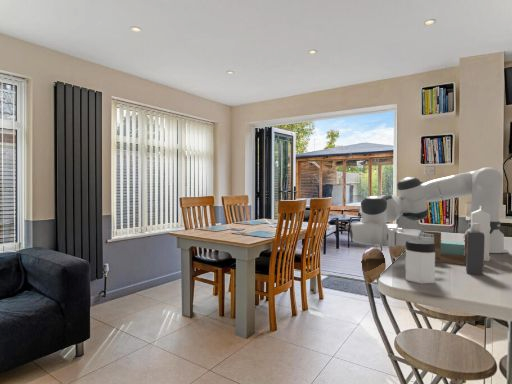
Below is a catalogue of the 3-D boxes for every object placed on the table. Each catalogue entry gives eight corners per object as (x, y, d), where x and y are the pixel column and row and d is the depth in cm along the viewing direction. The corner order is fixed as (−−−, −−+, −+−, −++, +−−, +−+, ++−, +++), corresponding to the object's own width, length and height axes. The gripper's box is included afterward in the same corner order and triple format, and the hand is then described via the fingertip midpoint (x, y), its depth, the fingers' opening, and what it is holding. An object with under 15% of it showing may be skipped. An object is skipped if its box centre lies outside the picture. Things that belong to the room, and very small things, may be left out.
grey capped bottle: (466, 270, 113) (467, 222, 113) (481, 272, 111) (482, 223, 111) (467, 273, 109) (468, 223, 109) (482, 275, 107) (484, 224, 107)
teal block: (440, 256, 136) (440, 240, 136) (462, 259, 132) (462, 242, 132) (440, 260, 129) (440, 242, 129) (463, 262, 125) (464, 245, 125)
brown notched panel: (423, 258, 131) (424, 230, 131) (482, 265, 121) (483, 235, 121) (423, 259, 129) (423, 231, 129) (483, 266, 119) (484, 235, 119)
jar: (403, 274, 106) (404, 238, 106) (431, 277, 103) (432, 240, 103) (405, 282, 98) (406, 242, 98) (435, 285, 95) (437, 245, 95)
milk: (471, 259, 131) (472, 206, 131) (469, 256, 137) (470, 205, 136) (489, 261, 128) (490, 206, 128) (487, 258, 134) (488, 205, 133)
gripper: (395, 240, 132) (434, 243, 125) (389, 247, 114) (433, 252, 107) (396, 224, 131) (434, 227, 125) (389, 229, 114) (433, 233, 107)
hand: (434, 238), depth 116 cm, fingers open, 8 cm apart
